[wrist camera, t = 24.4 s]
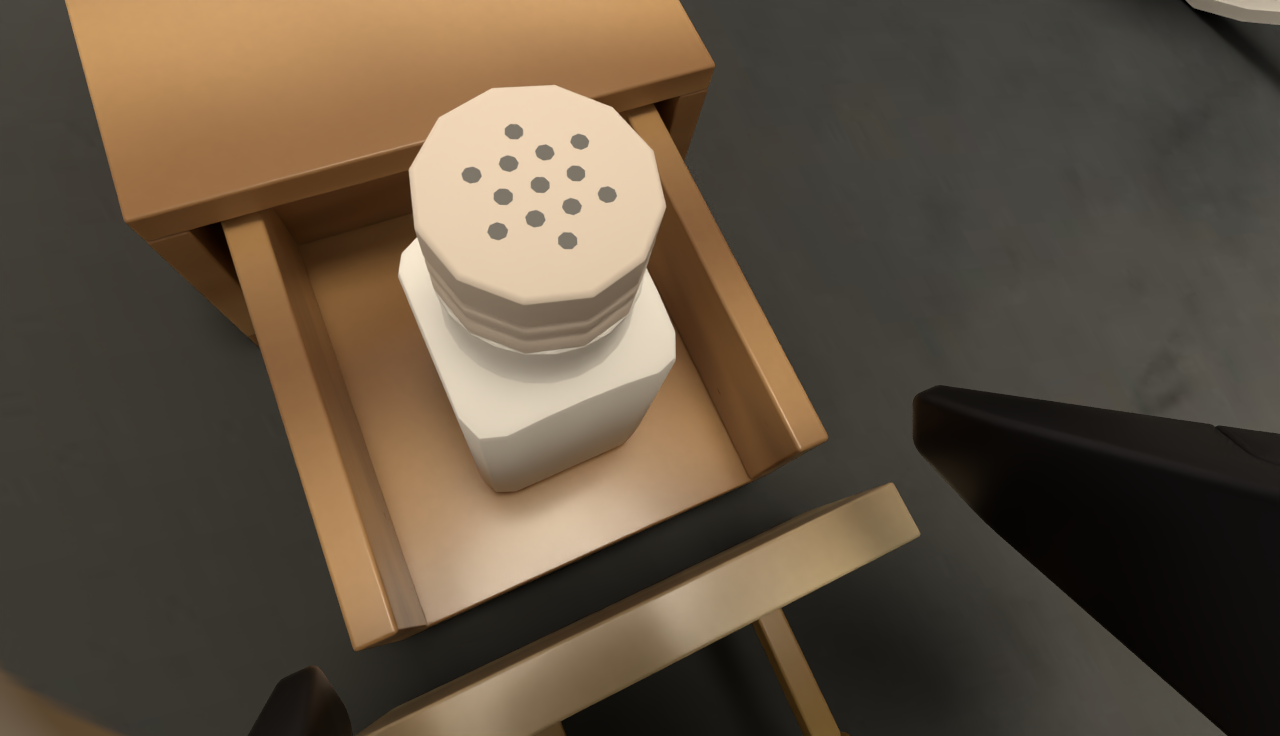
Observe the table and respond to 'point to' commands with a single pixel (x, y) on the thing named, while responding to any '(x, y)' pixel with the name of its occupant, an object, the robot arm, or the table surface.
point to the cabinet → (338, 96)
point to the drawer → (556, 506)
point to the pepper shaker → (538, 278)
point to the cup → (1242, 9)
